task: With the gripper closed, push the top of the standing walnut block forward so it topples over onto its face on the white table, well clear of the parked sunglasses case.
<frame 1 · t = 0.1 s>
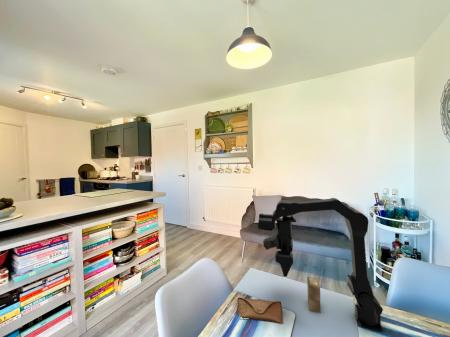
hand: (285, 270, 77), 15 cm above the table, fingers open, 9 cm apart
sunglasses case: (259, 314, 74), on the table
walnut block: (314, 306, 76), on the table
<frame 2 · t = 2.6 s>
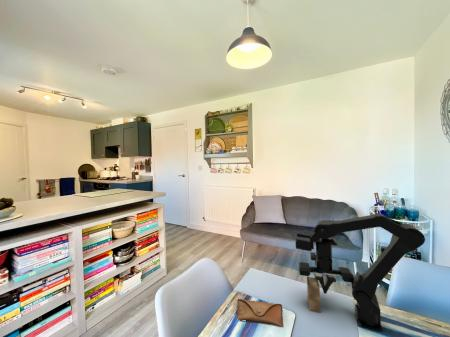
hand: (324, 292, 75), 6 cm above the table, fingers closed
sunglasses case: (259, 317, 72), on the table
walnut block: (314, 306, 76), on the table, touching gripper
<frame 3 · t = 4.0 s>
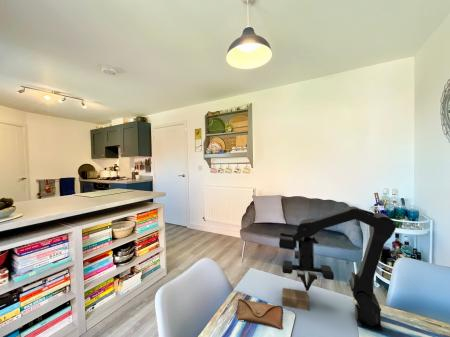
hand: (307, 290, 77), 6 cm above the table, fingers closed
walnut block: (308, 301, 77), point 2 cm above the table, tilted 90°
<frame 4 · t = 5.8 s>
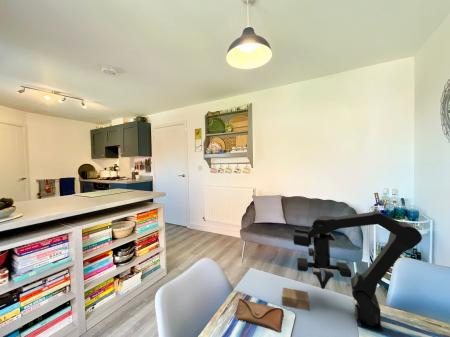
hand: (322, 288, 75), 8 cm above the table, fingers closed
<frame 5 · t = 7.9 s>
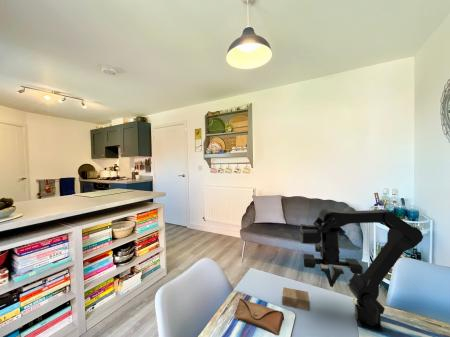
hand: (331, 286, 70), 12 cm above the table, fingers closed
at the end: walnut block tilted 90°; walnut block inside the target area (2.6 cm from its centre), point 1.7 cm above the table; walnut block touching table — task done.
